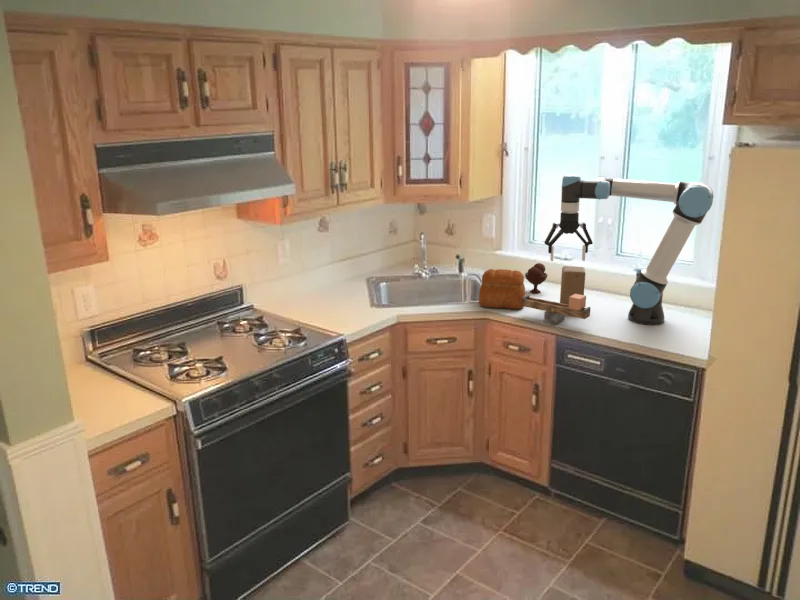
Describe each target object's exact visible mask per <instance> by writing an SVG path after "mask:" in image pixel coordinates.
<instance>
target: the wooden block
mask: <svg viewBox="0 0 800 600" xmlns="http://www.w3.org/2000/svg"><path fill="white" fill-rule="evenodd" d="M560 278H561V279H560V280H561V281H560V294H559V303H562V304H568V305H569V297H570V296H572V295H574V294H579V295H584V294H585V283H586V269H585V267H583V266H566V265H565V266H562V267H561V277H560Z"/></svg>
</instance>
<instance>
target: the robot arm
mask: <svg viewBox="0 0 800 600" xmlns="http://www.w3.org/2000/svg"><path fill="white" fill-rule="evenodd" d="M561 181H562V182H561V197H560V198H561V202H560V211H561V212H560V222H559V223H556V222H552V227H551V229H550V231H549V232H548V234H547V236H546V238H545V240H544V242H543V243H544V245H545V246H547V247H548V249H547V250H548V251H547V252H548V254H550V261H551V262H554V248H555V247H554V244H555V243H556V242H557V241H558V239H560V237H561V236H562V235H563V234H566V235H568V234H571V235H572V234H576V236H577V237H578V238H579V239H580V240H581V242H582V243H583V244H582V248H581V249H582V253H581V260H582V261H583V262H585V261H586V254H587V253H588V252H589V246H590V245H593V243H594V242H593V240H592V238H591V235H590V234H589V231H588V230H587V223H585V222H579V221H580V220H579V215H580V213H579V211H580V199H590V200H592V199H593V200H599V201H601V200H607V199H608V198H610V197H620V198H630V199H640V200H649V201H651V200H652V201H660V202H667V203H668V202H669V203H673V204H674V205H675V206H674V208H673V210H672V213H673V218H672V220H671V222H670V224H669V226H668V227H667V230H666V232H665V233H664V235H663V237H662V239H661V241H660V243H659V244H658V247H657V248H656V250H655V252H654V254H653V255H652V258H651V259H650V261H649V263H648V264H647V267H645V268H644V267H643V268H637V270H636V273H635V275H636V277H635V281H634V283H633V285H632V286H631V287H630V289H629V290H630V291H629V297H630V300H631V301H632V305H631V307H630V308H629V311H628V314H627V315H628V316H627V319H628V320H629V321H630V322H633V323H636V324H640V325H646V326H658V325H661V324H663V323H664V322H665V312H664V309H663V305H662V304H663V296H664V291H665V289H666V287H667V285H668V283H669V282H668V278H667V277H668V275H669V273H670V272H671V270H672V269H673V266H674V264H675V263H676V261H677V259H678V258H679V255H680V254H681V251H683V249H684V246H685V244H686V243H687V241H688V240H689V237H690V235H692V232H693V230H694V228H695V227H696V226H697V225H701V224H702V223H703V220H704V219H705V217H706V215H707V213H708V212H709V211H710V210H711V208H712V206H713V201H714V192H713V189H712V188H711V186H710V185H708V183H705V182H702V181H677V183H671V182H658V181H651V180H650V181H648V180H638V179H626V178H625V179H624V178H617V177H616V178H613V177H607V176H605V175H603V176H602V175H601V176H598V177H596V178H594V179H593V180H583V179H582V177H581V175H579V174H565V175H563V177H562V180H561ZM579 227H580V229H582V231H583V233H584V235H585V238H586V239H585V238H584V237H583V235H582V234H581V233H580V232H579V230H578V229H579ZM559 228H560V230H558V232H557V233H556V235H554V234H555V232H556V229H559ZM586 240H587V241H586Z"/></svg>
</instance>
